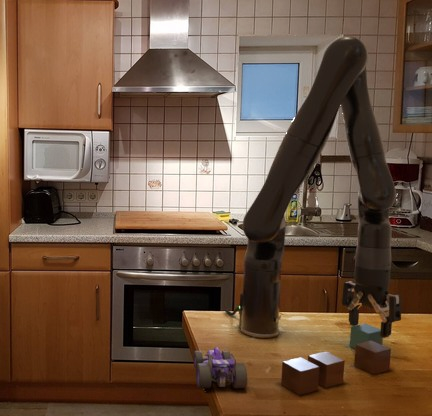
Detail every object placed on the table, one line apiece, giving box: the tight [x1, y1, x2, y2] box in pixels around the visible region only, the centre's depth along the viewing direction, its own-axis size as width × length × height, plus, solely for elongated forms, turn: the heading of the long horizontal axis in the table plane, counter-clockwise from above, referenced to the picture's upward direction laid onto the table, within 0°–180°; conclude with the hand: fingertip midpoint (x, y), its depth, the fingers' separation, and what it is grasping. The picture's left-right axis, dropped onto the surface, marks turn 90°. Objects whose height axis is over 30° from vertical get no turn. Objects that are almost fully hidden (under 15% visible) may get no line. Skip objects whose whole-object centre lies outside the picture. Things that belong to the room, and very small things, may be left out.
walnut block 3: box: [353, 341, 392, 376], centre depth 115 cm, size 5×5×5 cm
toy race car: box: [192, 347, 248, 389], centre depth 111 cm, size 10×15×6 cm, turn 1°
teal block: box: [349, 323, 384, 349], centre depth 125 cm, size 5×5×5 cm
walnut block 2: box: [307, 351, 345, 389], centre depth 109 cm, size 5×5×5 cm
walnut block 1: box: [280, 356, 319, 396], centre depth 106 cm, size 5×5×5 cm
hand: (369, 330), depth 124 cm, fingers open, 8 cm apart
